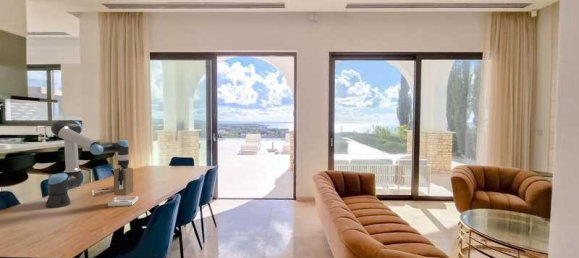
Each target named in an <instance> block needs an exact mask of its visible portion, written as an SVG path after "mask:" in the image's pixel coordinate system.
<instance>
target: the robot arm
mask: <svg viewBox="0 0 579 258" xmlns="http://www.w3.org/2000/svg"><path fill="white" fill-rule="evenodd" d="M50 131H51V133H52V134H53V135H54V136H56V137H58V138H60V139H62V140H63V141H64V145H63V146H64V161H65V170H64V171H63V172H60V173H55V174H52V175H50V176H49V177H48V181H47V185H48V187H47V189H48V197H47V200H46V202H45V207H46V208H49V209H52V208H53V209H55V208H62V207H66V206H69V205H70V204H71V203H72V201H71V198H70V197H69V194H68V193H69V192H68V190H69V189H72V188H76V187H77V188H78V187H79V186H81V185H82V184H84V182H85V180H86V176H85V174H84V172H82V169H81V168H80V166H79V164H80V163H79V148H78V147H79V146H81V147H82V148H85V150H89V151H90V153H91V154H92V155H97V156H98V155H102V154H108V153H117V165H118V166H120V167H118V168H119V175H118V181H119V189H123V176H122V174H123V169H126V168H129V163H130V161H129V159H130V158H129V157H130V154H129V151H130V150H129V147H130V144H129V140H127V139H120V140H119V139H118V141H117V142H109V141H108V142H104V143H100V142H98V141H95V140H93V139H91V138H89V137H88V136H85V135H83V134H81V133H82V132H83V125H82V124H81V122H80V121H78V120H73V119H71V120H69V119H68V120H56V121H54V122H53V123H52V124H51V126H50ZM78 145H79V146H78Z"/></svg>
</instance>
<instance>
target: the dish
mask: <svg viewBox="0 0 579 258" xmlns="http://www.w3.org/2000/svg"><path fill="white" fill-rule="evenodd" d="M137 200H138V201H139V195H136V196H135V195H133V196H132V195H131V196H129V195H128V196H115V197H114V198H112V200H110V201H109V202H107V207H109V208H111V207H113V208H116V207H115V206H117V207H133V206H132V205H133V204H134V203H135V202H136V201H137ZM138 201H137V202H138ZM137 202H136V203H137ZM136 203H135V204H136ZM135 204H134V205H135Z"/></svg>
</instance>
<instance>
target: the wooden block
mask: <svg viewBox="0 0 579 258" xmlns="http://www.w3.org/2000/svg"><path fill="white" fill-rule="evenodd" d="M119 168H120V167H118V168H115V169H113V195H114V196H129V194H133V193H134V168H133V167H128V168H126V169H123V174H122V176H123V189H119V181H118V175H119Z"/></svg>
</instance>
